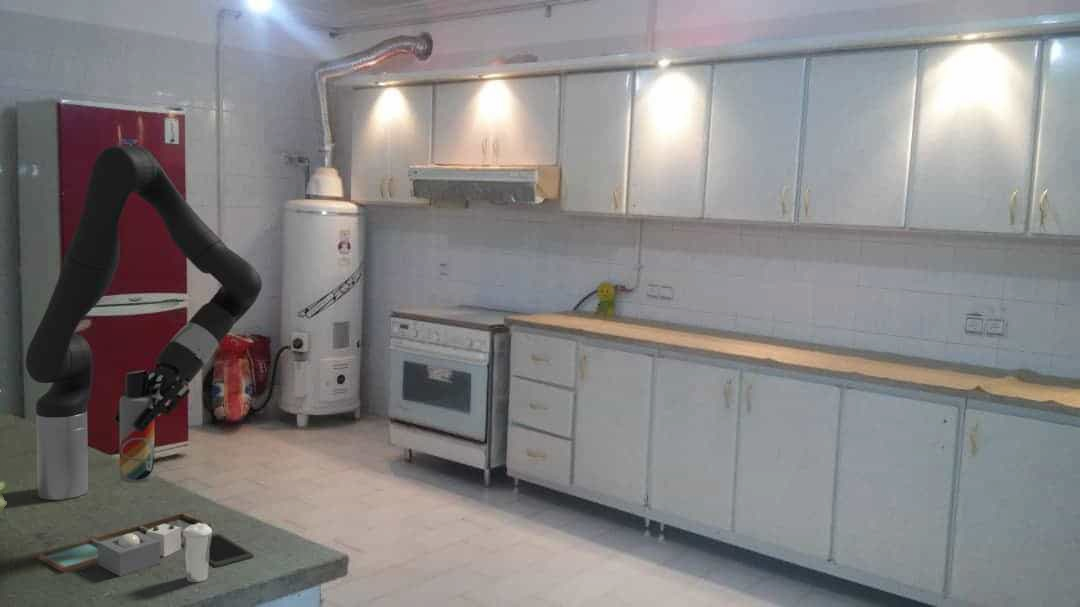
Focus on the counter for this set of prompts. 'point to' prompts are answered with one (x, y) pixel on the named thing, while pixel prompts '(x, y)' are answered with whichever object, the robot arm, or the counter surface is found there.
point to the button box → (128, 554)
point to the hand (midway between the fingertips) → (127, 425)
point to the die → (166, 538)
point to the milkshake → (197, 551)
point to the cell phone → (225, 551)
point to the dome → (128, 540)
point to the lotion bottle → (133, 442)
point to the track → (88, 549)
